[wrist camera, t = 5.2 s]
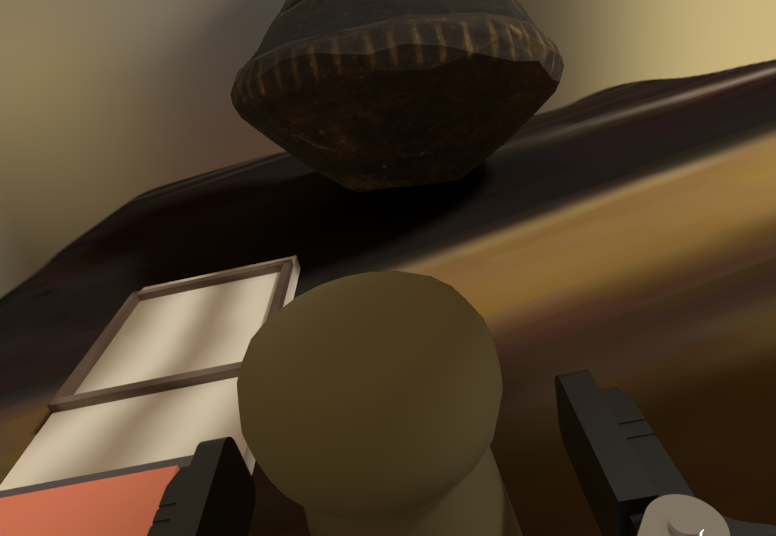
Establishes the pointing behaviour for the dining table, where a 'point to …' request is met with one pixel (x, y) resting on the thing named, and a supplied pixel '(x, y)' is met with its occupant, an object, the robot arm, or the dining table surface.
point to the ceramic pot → (396, 86)
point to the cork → (379, 409)
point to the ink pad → (90, 502)
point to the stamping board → (159, 376)
